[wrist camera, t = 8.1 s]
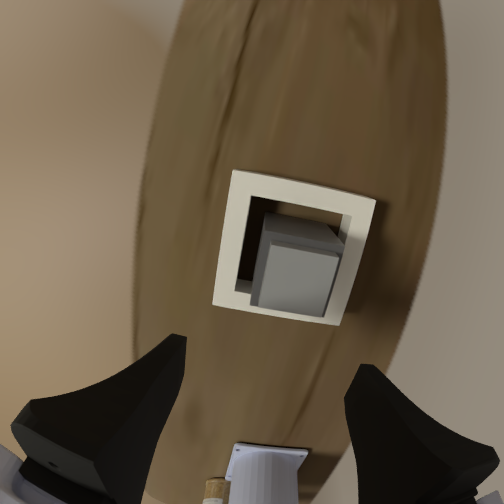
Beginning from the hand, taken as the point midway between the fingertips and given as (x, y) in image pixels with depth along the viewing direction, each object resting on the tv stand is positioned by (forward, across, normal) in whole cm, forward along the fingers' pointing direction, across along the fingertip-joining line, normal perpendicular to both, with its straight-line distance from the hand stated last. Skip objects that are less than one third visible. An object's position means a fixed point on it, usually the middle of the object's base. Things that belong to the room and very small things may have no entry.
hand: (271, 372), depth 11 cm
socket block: (+10, -1, -3) cm, 10 cm away
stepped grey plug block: (+10, -1, -3) cm, 10 cm away
